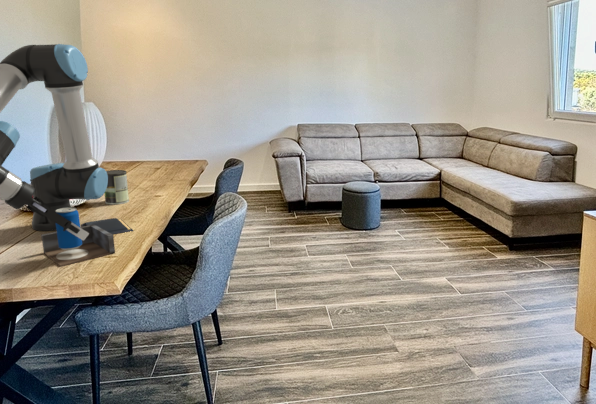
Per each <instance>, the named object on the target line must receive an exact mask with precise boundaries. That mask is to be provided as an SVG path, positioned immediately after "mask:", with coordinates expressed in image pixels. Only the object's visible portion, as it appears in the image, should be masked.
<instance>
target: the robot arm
mask: <svg viewBox="0 0 596 404" xmlns="http://www.w3.org/2000/svg"><path fill="white" fill-rule="evenodd" d="M88 71H89V68H88V64H87V61H86V58H85V56H84V55H83V53H82V52H81V51H80V50H79V49H78V48H77V47H76V46H75V45H72V44H62V43H58V44H57V43H55V44H27V45H24V46H22V47H19V48H17V49H15V50H13V52H11V53H10V54H8V55H7V56H5V57H4V58H3V59H2V60H1V61H0V114H1V113H2V112H3V110H4V109H5V108H6V106H7V105H8V104H9V102H10V101H11V100H12V99H13V97H14V96H15V95H16V94H17V93H18V92H19V91H20V90H24V89H25V88H27V86H28V85H29V84H31V83H35V82H43V84H44V88H45V89H46V90H47V91H49V92H50V93H51V96H52V101H53V104H54V109H55V116H56V119H57V124H58V127H59V133H60V137H61V142H62V147H63V152H64V157H65V160H66V161H65V162H57V163H56V162H55V163H51V164H50V163H49V164H45V165H41V166H36V167H33V168H30V171H29V175H30V179H29V181H30V184H29V183H28V182H26V181H23V180H22V178H21V177H19V176H18V175H16V174H15V173H13V172H12V171H10V170H8V169H7V168H5V167H4V166H3V164H4V163H5V161H6V160H7V158H8V157H9V156H10V154H11V153H12V151H13V150H14V149H15V148H16V145H17V143H18V142H19V140H20V136H21V134H20V131H18V129H17V128H16V127H15V126H14V124H13V125H12V124H11V123H9V122H8V121H3V120H0V200H1V201H4V202H5V204H7V205H8V206H10V207H11V208H13V209H15V210H20V209H22V208H23V207H24V206H26V209H27V210H29V211H31V212H33V214H32V220H31V227H32V230H34V231H39V232H44V231H45V232H46V231H47V232H48V231H57V230H56V223H57V224H58V225H60V226H62V227H63V228H64V229H63V231H64V232H65V231H66V230H67V231H69V232H70V233H72V234H73V235H75V236H77V237H78V238H80V239H81V240H83V241H84V240H85V239H86V237H87V236H88V235H89V233H88V232H86V231H85V230H83V229H82V228H80V227H81V226H80V227H79V226H77V225H75V224H74V223H72V222H71V221H69V220H67V219H65V218H64V217H62V216H61V215H59V214H58V213H56V210H57V209H61V208H67V207H72V205H71V202H70V200H85V201H90V200H98V199H100V198H102V197H103V196H104V195H105V191H106V188H107V184H108V175H107V172H106V171H107V170H106V169H105V168H104V167H103V168H102V167H100V166H99V160H97V159H95V158H94V157H93V154H92V149H91V143H90V137H89V134H88V133H89V132H88V127H87V123H86V117H85V113H84V108H83V103H82V98H81V93H80V90H81V89H82V88H83V86H84V84H83V83H84V81H85V80H87V78H88Z"/></svg>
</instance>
